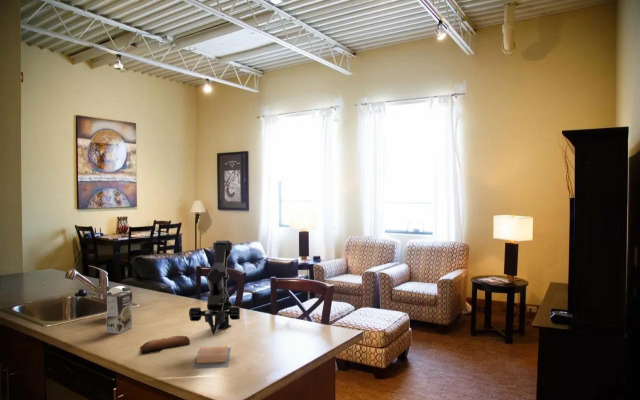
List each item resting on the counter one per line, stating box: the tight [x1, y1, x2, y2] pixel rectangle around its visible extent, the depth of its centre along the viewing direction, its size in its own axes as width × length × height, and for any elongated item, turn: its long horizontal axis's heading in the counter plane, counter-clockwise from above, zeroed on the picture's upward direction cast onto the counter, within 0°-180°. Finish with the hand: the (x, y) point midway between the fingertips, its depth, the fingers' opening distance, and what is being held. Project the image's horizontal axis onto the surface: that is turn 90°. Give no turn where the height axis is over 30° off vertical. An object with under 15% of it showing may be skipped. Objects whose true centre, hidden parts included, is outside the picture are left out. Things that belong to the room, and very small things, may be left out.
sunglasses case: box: [139, 335, 191, 354], centre depth 167 cm, size 18×7×7 cm, turn 122°
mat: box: [191, 347, 232, 370], centre depth 155 cm, size 19×12×1 cm, turn 9°
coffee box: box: [106, 291, 133, 335], centre depth 186 cm, size 9×6×16 cm
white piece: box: [105, 284, 131, 320], centre depth 207 cm, size 12×11×15 cm
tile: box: [196, 345, 228, 363], centre depth 154 cm, size 3×10×9 cm
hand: (213, 334), depth 156 cm, fingers closed
